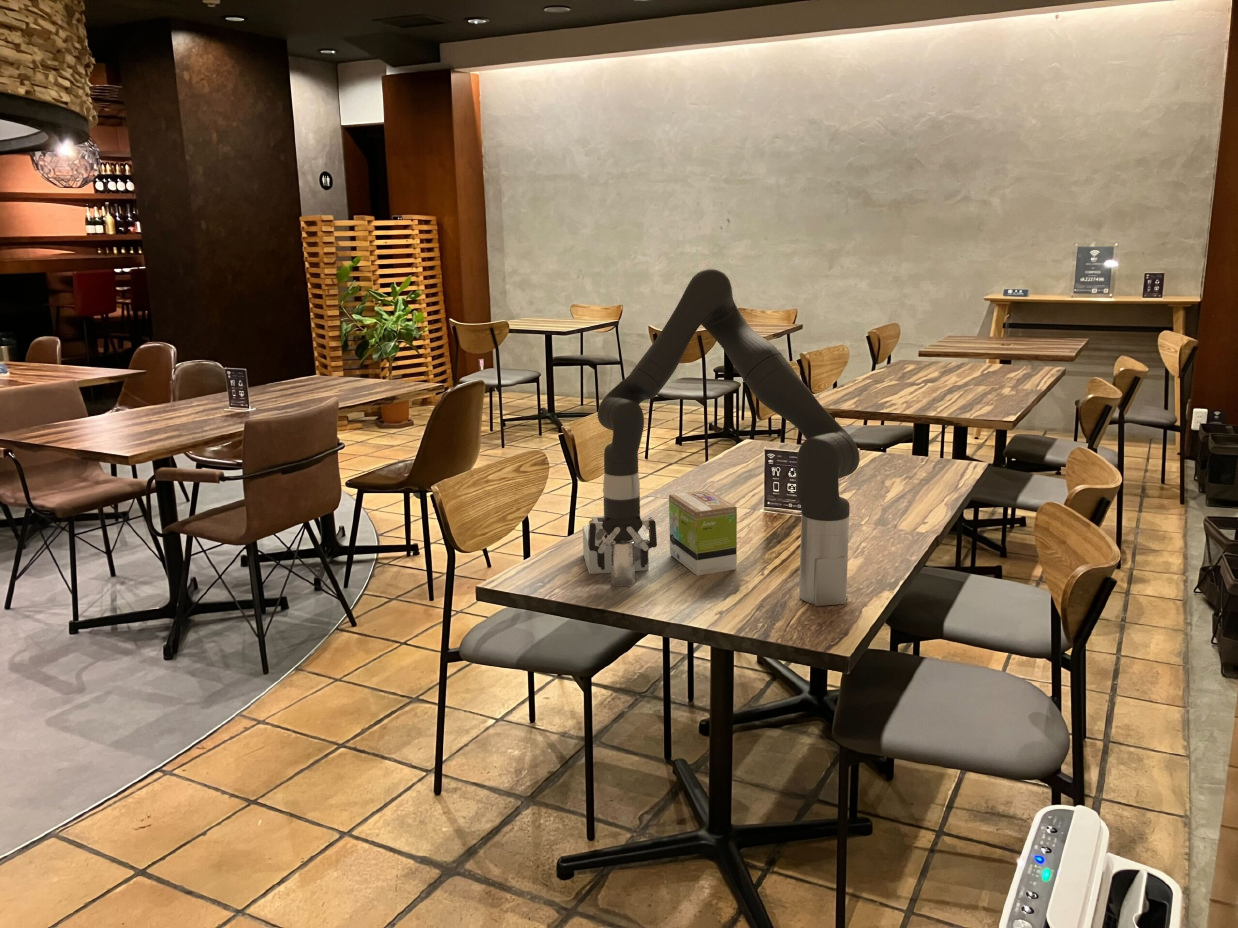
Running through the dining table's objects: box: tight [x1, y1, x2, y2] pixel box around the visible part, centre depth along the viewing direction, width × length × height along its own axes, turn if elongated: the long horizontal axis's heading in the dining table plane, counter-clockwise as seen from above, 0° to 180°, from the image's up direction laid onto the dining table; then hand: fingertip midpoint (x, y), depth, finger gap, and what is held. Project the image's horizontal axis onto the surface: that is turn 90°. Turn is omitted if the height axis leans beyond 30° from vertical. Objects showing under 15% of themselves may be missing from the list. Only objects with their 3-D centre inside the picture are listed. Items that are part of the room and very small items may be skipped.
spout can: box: [610, 539, 636, 587], centre depth 204 cm, size 5×5×10 cm
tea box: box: [668, 489, 738, 576], centre depth 214 cm, size 15×10×15 cm, turn 21°
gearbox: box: [582, 515, 650, 575], centre depth 216 cm, size 14×13×10 cm
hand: (622, 567), depth 205 cm, fingers open, 8 cm apart
